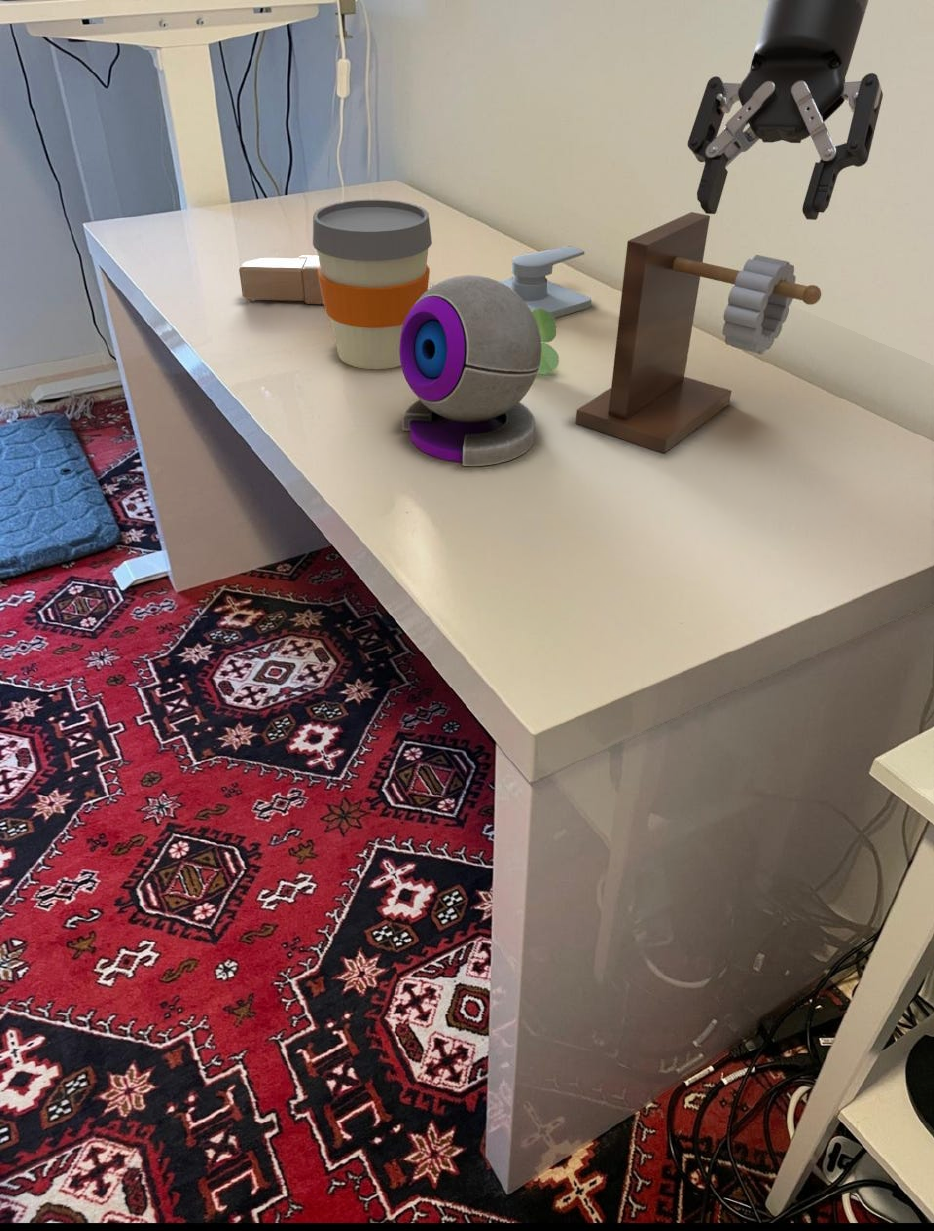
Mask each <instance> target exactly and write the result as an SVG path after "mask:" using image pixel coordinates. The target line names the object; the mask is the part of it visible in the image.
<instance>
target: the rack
mask: <svg viewBox="0 0 934 1231" xmlns="http://www.w3.org/2000/svg"><path fill="white" fill-rule="evenodd" d="M710 218H711V215H710V214H705V213H704V214H703V213H698V212H693V211H691V212H688V213H686V214H684V215H682V216H680V217H677V218H675V219H673V220H671V221H669V222H666V223H664V224H662V225H660V226H657V227H655V228H653V229H651V230H648V231H646V232H644V233H642V234H640V235H638V236H635V237H633V238H631V239H628V240H627V243H626V251H625V262H624V270H623V278H622V288H621V296H620V305H619V314H618V322H617V331H616V333H617V334H616V340H615V350H614V358H613V368H612V377H611V386H610V388H609V389H607V390H605V391H604V392H602V393H601V394H599V395H598V396H596V397H594V398H593V399H591V400H590V401H588V402H586V403H585V404H584V405H582V406H580V407H578V408H577V409H576V412H575V424H577V425H579V426H582V427H585V428H587V429H591V430H593V431H598V432H600V433H603V434H606V435H609V436H610V437H611V436H612V437H615V438H618V439H619V440H620V439H621V440H623V441H626V442H629V443H633V444H635V445H638V446H641V447H644V448H647V449H649V450H653V451H656V452H659V453H661V454H665V453H667V452H668V451H669V450H671V449H672V448H674V447H675V446H676V445H677V444H679V443H680V442H681V441H682V440H684V439H685V438H687V437H688V436H689V435H690V434H692V433H693V432H694V431H695V430H696V429H698V428H700V427H701V426H702V425H703V424H704V423H706V422H707V421H708V420H710V419H711V418H712V417H715V415H717V414H718V413H719V412H720V411H721V410H723V409H724V408H726V407H727V406H728V405H730V403H731V402H730V401H731V397H732V390H731V389H728V388H724V387H721V386H718V385H713V384H711V383H707V382H703V381H700V380H697V379H693V378H690V377H686V376H685V375H686V369H687V368H686V367H687V361H688V356H689V350H690V344H691V337H692V330H693V326H694V325H693V324H694V318H695V312H696V306H697V300H698V293H699V287H700V281H701V278H704V279H709V280H712V281H717V282H722V283H726V284H730V285H734V286H735V280H736V277H737V275H738V273H739V272H740V271H741V270H738V269H733V268H728V267H725V266H719V265H715V264H711V263H707V262H704V255H705V250H706V244H707V238H708V237H707V236H708V231H709V225H710ZM772 294H777V295H781V296H785V297H789V298H793V299H794V300H798V301H802V302H803V303H804V304H806V305H808V306H809V305H810V306H812V305H815V304H817V303H818V302H819V301H820V299H821V297H822V290H821V289H820V287H819V286H817V285H816V284H810V285H803V284H799V283H796V282H795V283H791V282H786V281H782V280H780V282H779V283H778V285H775V286H774V289H773V292H772Z"/></svg>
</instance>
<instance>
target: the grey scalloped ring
mask: <svg viewBox="0 0 934 1231" xmlns="http://www.w3.org/2000/svg"><path fill="white" fill-rule="evenodd" d="M739 271H740V272H739V273H738V275H737V277H736V280H735V285H734V286H732V288H731V289H730V291H729V294H728V298H727V303H728V304H727V305H726V306H725V309H724V312H723V321H724V323H723V326H722V335H723V336H725V337H724V343H725V345H727V346H731V347H733V348H736V349H739V350H743V351H747V352H751V353H755V354H758V355H763V354H765V352H766V351H767V350H770V349H771V348H772V346H773V344H774V342H775V339H777V338H778V337H779V336H780V334H781V333H782V329H783V324H784V323H785V322H786V321H787V319H788V317H789V314H790V306H791V304H792V302H793V299H794V298H789V297H785V296H781V295H777V294H772V292H773V289H774V286H775V285H778V283H779V282H780V280H782V281H786V282H791V283H795V284H796V278H797V277H796V275H795V274H794V273H795V266H794V265H793V264H791V263H790V262H789V261H788V260H782V259H778V258H773V257H769V256H764V255H760V254H755V255H754V256H753V258H752V259H751V258H748V259H746V262H745V263H744V266H743V269H741V270H739Z"/></svg>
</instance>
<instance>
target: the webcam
mask: <svg viewBox="0 0 934 1231" xmlns="http://www.w3.org/2000/svg"><path fill="white" fill-rule="evenodd" d="M498 281H499V280H495V279H493V278H491V277H486V276H481V275H474V274H473V275H467V274H466V275H459V276H454V277H451V278H447V279H444V280H443V281H442V280H441V282H440V281H439V282H438V283H436V284H435V285H433V286H431V287H430V288H428V291H426V292H425V293H424V294H423V295H422V296H421V297H420V298H419V299H418V300H417V302H416V303H415V304H414V306H413V307H412V308H411V310H410V311H409V313H408V315H407V316H406V319H405V321H404V323H403V326H402V330H401V335H400V344H399V354H400V363H401V366H400V367H401V371H402V374H403V378H404V379H405V381H406V383H407V385H408V387H409V388H410V390H411V391H412V393H413V394H414V395H415V397H416V398H417V399H418V400H417V401H415V402H414V403H413V404H411V405H409V407H408V408H407V409H406V410H405V412H404V414H403V415H402V419H401V430H402V431H406V432H407V431H408V432H409V436H410V440H411V442H412V443H413V445H414V446H416V447H417V448H418V449H419V450H420V451H422V452H424V453H425V454H427V455H429V456H432V457H436V458H438V459H441V460H446V461H450V462H451V461H452V462H459V463H462V467H480V466H481V467H483V466H491V465H497V464H501V463H505V462H508V461H511V460H514V459H516V458H518V457H520V456H522V455H523V454H525V453H526V452H528V451H529V450H530V449H531V448H532V447H533V445H534V443H535V441H536V432H537V424H536V418H535V416H534V414H533V413H532V411H531V410H530V408H528V407H527V406H526V405H525V404H524V403H522V402H521V401H522V400H523V399H524V398H525V396H526V395H527V394H528V392H529V391H530V390H531V388H532V386H533V384H534V382H535V381H536V378H537V376H538V374H537V373H538V370H539V366H540V360H541V343H542V342H541V338H540V333H539V329H538V325H537V322H536V320H535V318H534V316H533V314H532V312H531V310H530V308H529V307H528V306H527V304H526V303H525V302H524V300H523V299H522V298H521V297H520V296H519V295H518V294H517V293H516V292H514V291H513V290H512V289H511V288H509V287H507V286H506V285H504V284H503V283H501V282H498Z"/></svg>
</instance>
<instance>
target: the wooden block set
mask: <svg viewBox="0 0 934 1231" xmlns="http://www.w3.org/2000/svg"><path fill="white" fill-rule="evenodd" d="M319 267H320V263H319V258H318V255H299V256H298V257H297V258H285V257H282V258H280V257H260V258H257V259H256V258H255V259H252V260H248V261H244V262H243V263H242V265H241V266H240V268H239V269H238V272H239V273H238V274H239V279H240V285H241V286H240V287H241V294H242V297H243V298H244V299H245V300H252V301H253V300H255V301H256V300H257V301H259V300H260V301H295V302H297V301H298V302H299V301H300V302H305V303H306V305H324V301H323V296H322V292H321V287H320V282H319V277H318V269H319Z"/></svg>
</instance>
